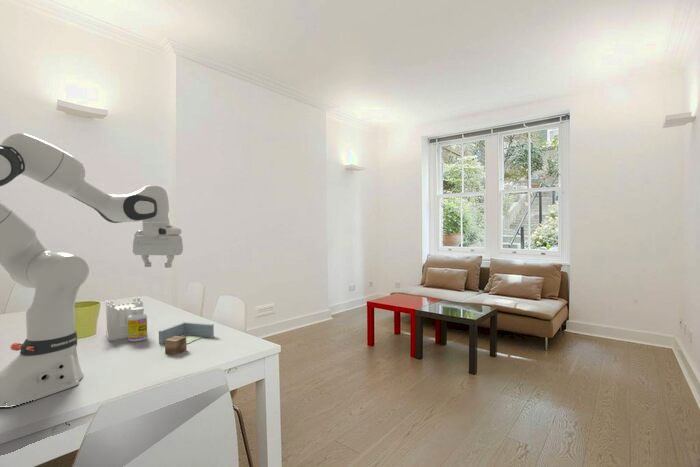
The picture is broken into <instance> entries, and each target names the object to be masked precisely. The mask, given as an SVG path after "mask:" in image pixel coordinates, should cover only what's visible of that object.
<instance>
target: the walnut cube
mask: <svg viewBox="0 0 700 467" xmlns="http://www.w3.org/2000/svg"><path fill="white" fill-rule="evenodd" d="M185 351H187V344H186V337H183V336H174V337H171V338H169V339H166V340H165V343H164V354H166V355H175V356H176V355H179V354H180V353H183V352H185Z"/></svg>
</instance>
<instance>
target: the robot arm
mask: <svg viewBox="0 0 700 467" xmlns="http://www.w3.org/2000/svg"><path fill="white" fill-rule="evenodd" d="M21 175H22V176H26V177H28V178H30V179H32V180H34V181H36V182H38V183H41V184H42V185H45V186H46V187H49V188H51V189H54V190H56V191H59V192H62V193H63V194H66V195H68V196H69V197H71V198H73V199H74V200H77V201H79V202H81V203H83V204H84V205H87V206H89V207H90V208H91V209H93V210H95V211H96V212H97V213H98V214H99V215H100V216H101V217H102V219H104V220H105V221H106V222H109V223H113V224H120V223H131V222H133V223H134V222H140V221H142V230H141V229H140V230H137V231H135V233H134V235H133V236H134V237H133V242H132V253H133V255H134V256H141V259H142V261H143V263H144V267H145V268H151V267H152V261H150V260H149V258H150V256H166V259H167V260H166V262H164V268H166V269H167V268H172V267H173V266H172V264H173V261H174V259H175V256H180V255H182V254H183V252H184V244H183V238H182V236H181V234H182V228H180V227H176V226H174V225H172V224H170V219H169V213H170V204H169V197H168V193H167V191H166V189H165V188H163V187H161V186H158V185H149V184H148V185H144V186H143V187H142V188H140V189H138V190H137V191H133V192H131V193H128V194H127V193H126V194H110V193H106V192H103V191H102V190H100V189H98V188H97V187H95V186H94V185H92V184H90V183H88V182H87V181H86V180H85V178H86V169H85V166H84V165H83V163H82V162H80V161H79V160H78V159H77V158H75V157H74V156H73V155H71V154H70V153H68V152H66V151H64V150H62V149H60V148H59V147H57V146H55V145H53V144H51V143H49V142H46V141H45V140H42V139H40V138H37V137H35V136H32V135H30V134H27V133H22V132H21V133H20V132H19V133H13V134H11V135H8V136H7V137H6V138H4V139H3V141H2V142H1V144H0V187H3V186H5V185H7V184H9V183H10V182H12V181H13V180H14V179H16V178H17V177H18V176H21ZM0 266H2V267H3V269H4V270H5V271H6V272H7V273H8V274H9V276H10V278H11V279H12V280H13V281H14V282H15V283H17V284H19V285H21V286H23V287H26V288H29V289H34V296H33V299H32V303H31V305H30V307H29V308H28V309H27V311H25V312H26V313H25V323H26V324H25V325H26V326H25V328H26V329H25V330H26V338H25V340H24V342H23V343H19V342H13V343H11V345H10V347H9V349H10V350H12V351H16V352H18V351H19V354H18V355H17V356H16V357H15V358H14V359H13V360H11V361H10V363H8V364H7V365H6V366H5V367H4V368H3V369H1V371H0V406H6V405H7V406H11V405H18V404H22V403H25V404H27V403H26V402H28V403H30V402H29V401H31V402H33V401H37V400H38V399H42V398H44V397H47V396H50V395H53V394H56V393H59V392H62V391H64V390H68V389H70V388H73V387H75V386H78V385H79V383H80V380H81V379H82V378H83V377H84V372H83V371H82V369H81V365H80V363H79V362H80V361H79V357H78V352H77V345H78V333H77V330H76V325H75V324H76V321H75V319H76V318H75V317H76V316H75V310H76V308H75V307H76V301H77V297H78V294H79V291H80V288H81V287H82V285H83V284H84V283H85V282H86V280H87V279H88V277H89V275H90V266H89V265H88V262H87V261H86V260H85V259H83V258H82V257H80V256H77V255H76V254H75V255H74V254H72V253H69V252H59V251H58V252H54V251H51V250H49V249H47V248H46V247H45V246H44V245H43V244H42V243H41V241H40V240H39V238H38V237H37V233H36V230H35V229H34V228H33V227H32V226H30V224H29V223H27V222H26V221H25V220H23V219H22V218H21V217H20V216H19V215H18V214H17V213H16V212H14V211H13V210H12V209H11V208H10V207H8V205H6V204H5V203H3V202H2V201H1V200H0ZM32 400H33V401H32ZM6 403H7V404H6ZM22 405H23V404H22Z"/></svg>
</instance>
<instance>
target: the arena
mask: <svg viewBox="0 0 700 467" xmlns="http://www.w3.org/2000/svg"><path fill="white" fill-rule="evenodd" d="M214 328H215V325H214V324H213V323H205V322H204V323H203V322H202V323H201V322H191V321H183V322H180V323H176V324H174V325H172V326H168V327H166V328H163V329H161V330H158V344H161V345H163V344H165V340H166V339H169V338H171V337H174V336H182V337H186V345H188V344H191V343H193V342H195V341H198V340H200V339H202V338H203V337H204V338H213V337H214V336H215V331H214ZM193 335H194V336H193Z"/></svg>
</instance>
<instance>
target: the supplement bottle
mask: <svg viewBox="0 0 700 467" xmlns="http://www.w3.org/2000/svg"><path fill="white" fill-rule="evenodd" d="M144 311H145V308H144V306H143V307H136V308H132V309H131V315H130V316H129V317H128V341H129V342H131V343H132V342H133V343H134V342H135V343H136V342H143V341H145V340H147V339H148V316H147V313H144Z"/></svg>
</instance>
